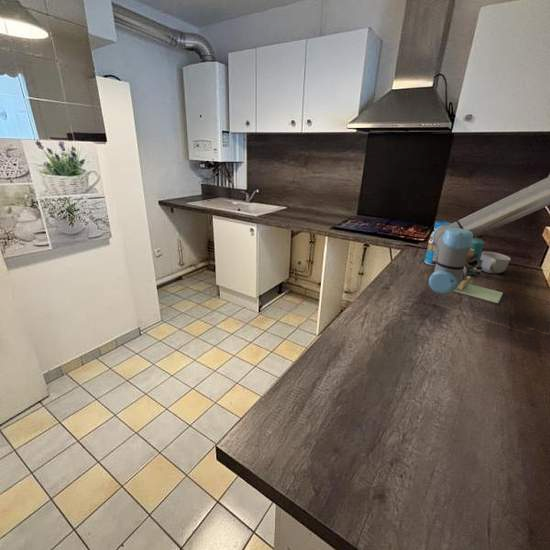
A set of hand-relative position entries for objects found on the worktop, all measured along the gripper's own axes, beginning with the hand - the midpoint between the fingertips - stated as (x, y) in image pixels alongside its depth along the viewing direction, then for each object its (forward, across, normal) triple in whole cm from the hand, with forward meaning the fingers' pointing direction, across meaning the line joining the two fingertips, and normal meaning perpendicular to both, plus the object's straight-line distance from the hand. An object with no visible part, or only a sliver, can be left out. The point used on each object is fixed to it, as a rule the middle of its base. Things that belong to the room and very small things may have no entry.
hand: (470, 255), depth 114 cm
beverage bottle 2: (+13, -1, -13) cm, 18 cm away
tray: (-5, +5, -12) cm, 14 cm away
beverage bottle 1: (+19, -16, -13) cm, 28 cm away
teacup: (+26, +6, -13) cm, 29 cm away
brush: (-5, 0, -11) cm, 12 cm away
